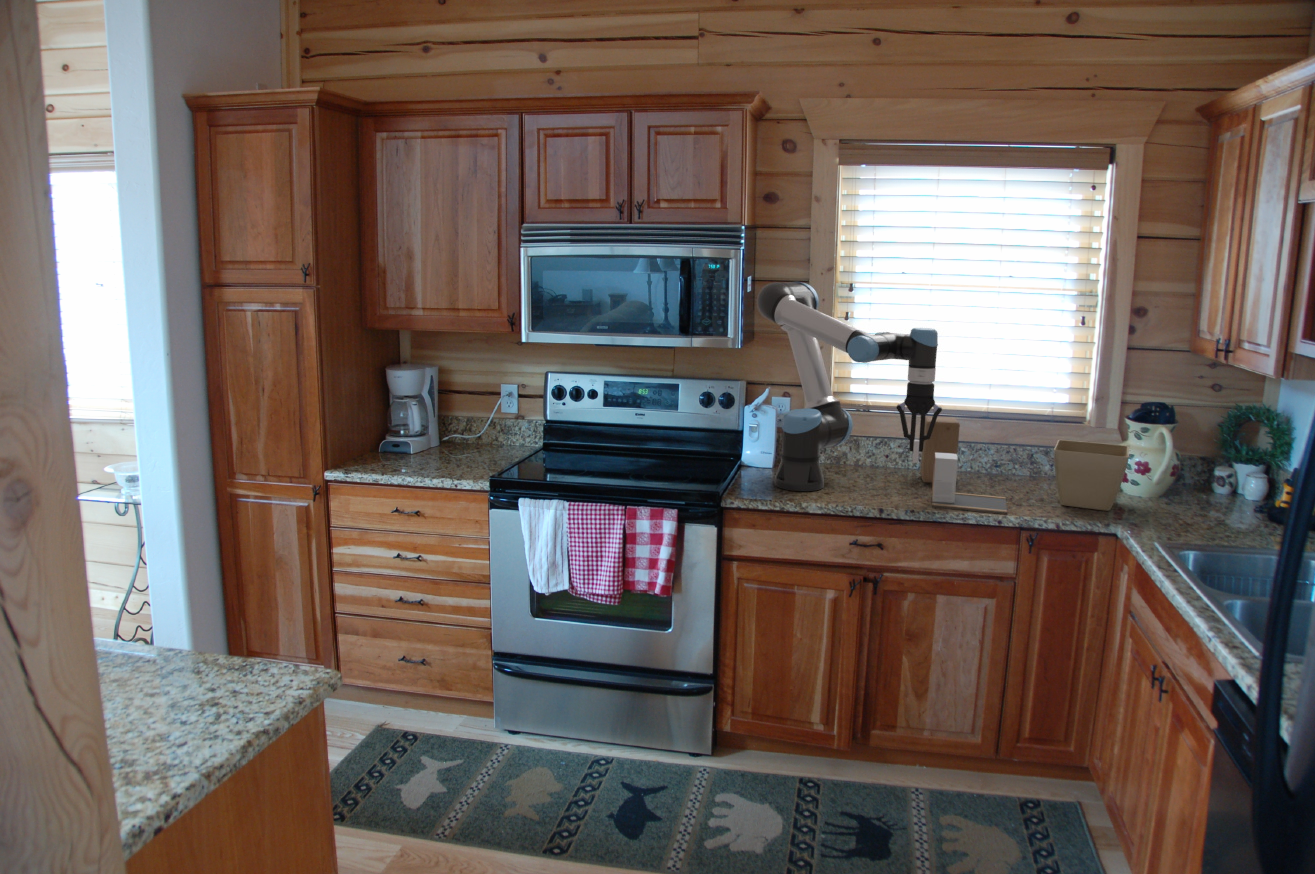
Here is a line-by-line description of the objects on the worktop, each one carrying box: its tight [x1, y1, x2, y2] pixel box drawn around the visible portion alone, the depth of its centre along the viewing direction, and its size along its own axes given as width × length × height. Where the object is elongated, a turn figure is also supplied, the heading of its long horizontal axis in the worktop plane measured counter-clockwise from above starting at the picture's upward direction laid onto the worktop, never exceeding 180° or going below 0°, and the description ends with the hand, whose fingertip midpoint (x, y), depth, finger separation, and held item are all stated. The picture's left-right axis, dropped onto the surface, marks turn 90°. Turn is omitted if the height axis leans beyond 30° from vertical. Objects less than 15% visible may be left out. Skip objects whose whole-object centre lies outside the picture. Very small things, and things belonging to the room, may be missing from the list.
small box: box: [931, 453, 959, 503], centre depth 258 cm, size 8×6×13 cm
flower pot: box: [1053, 439, 1130, 512], centre depth 257 cm, size 19×19×17 cm
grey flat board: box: [931, 492, 1008, 515], centre depth 257 cm, size 20×16×1 cm
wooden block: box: [919, 415, 960, 484], centre depth 283 cm, size 10×10×20 cm
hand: (915, 462), depth 260 cm, fingers closed
